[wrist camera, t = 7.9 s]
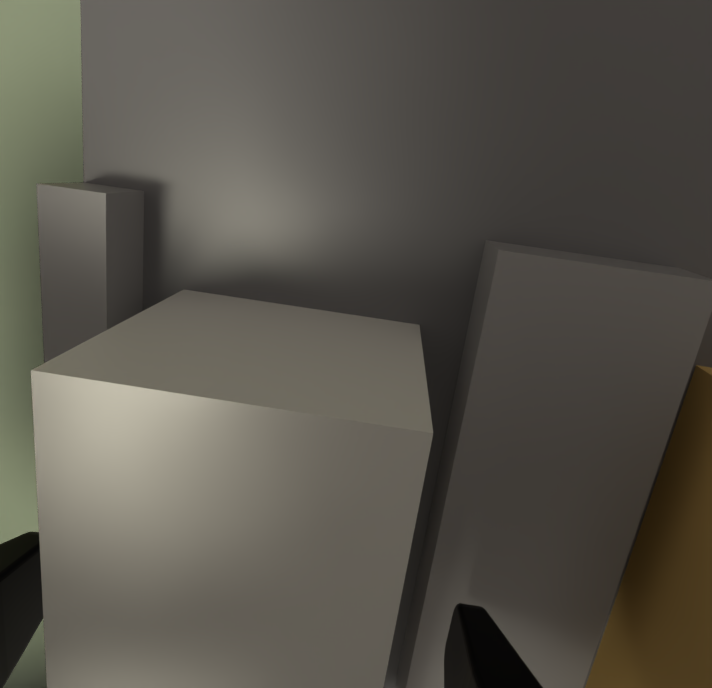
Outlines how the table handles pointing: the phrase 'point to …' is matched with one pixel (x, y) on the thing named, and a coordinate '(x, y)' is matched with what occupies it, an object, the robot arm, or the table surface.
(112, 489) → the grey plug
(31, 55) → the table surface
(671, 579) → the amber plug
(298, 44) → the organiser
